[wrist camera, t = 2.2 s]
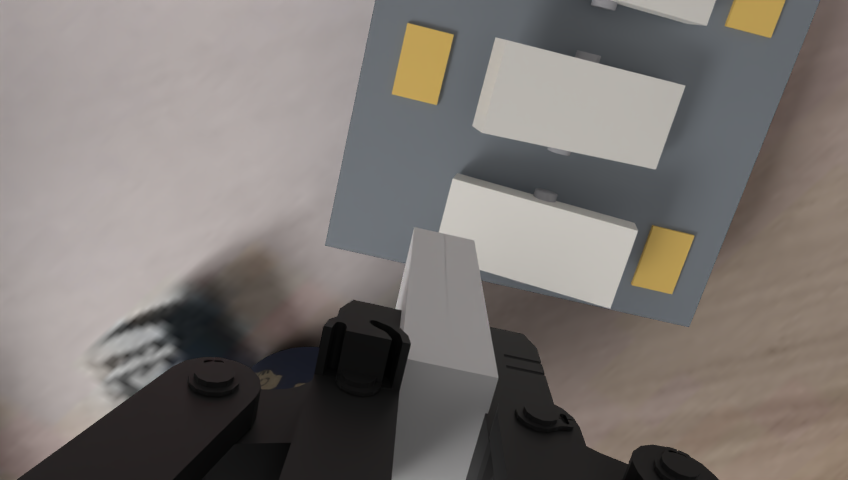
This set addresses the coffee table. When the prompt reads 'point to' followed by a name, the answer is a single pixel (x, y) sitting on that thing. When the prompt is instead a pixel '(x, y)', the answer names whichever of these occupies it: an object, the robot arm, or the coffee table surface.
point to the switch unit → (576, 174)
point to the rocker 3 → (666, 8)
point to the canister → (287, 368)
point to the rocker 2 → (540, 239)
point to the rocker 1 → (575, 104)
